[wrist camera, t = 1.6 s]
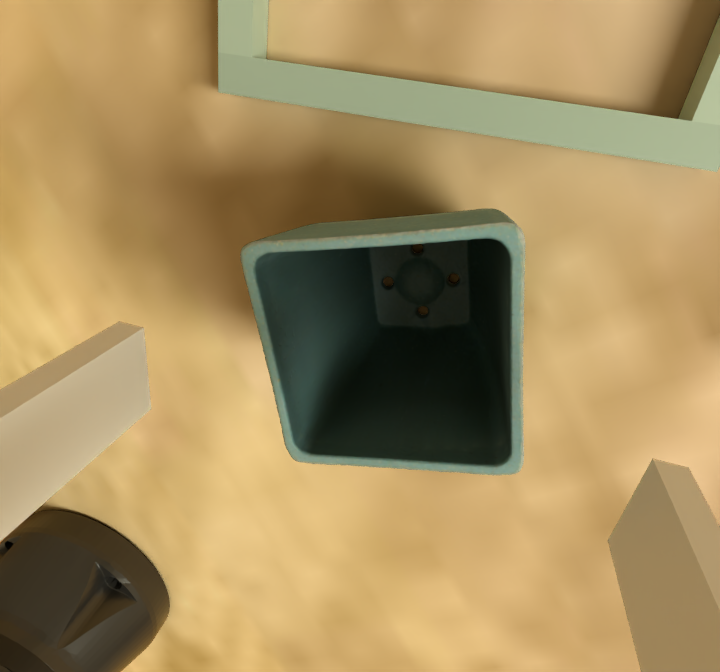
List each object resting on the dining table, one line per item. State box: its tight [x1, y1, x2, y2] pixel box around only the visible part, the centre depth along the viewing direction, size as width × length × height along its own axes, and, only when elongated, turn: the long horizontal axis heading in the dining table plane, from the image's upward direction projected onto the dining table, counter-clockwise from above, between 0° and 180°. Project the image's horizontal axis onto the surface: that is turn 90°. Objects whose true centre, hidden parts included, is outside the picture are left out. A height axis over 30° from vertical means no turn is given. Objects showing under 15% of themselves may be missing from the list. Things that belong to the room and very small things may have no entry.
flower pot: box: [240, 209, 525, 475], centre depth 20 cm, size 9×9×9 cm
